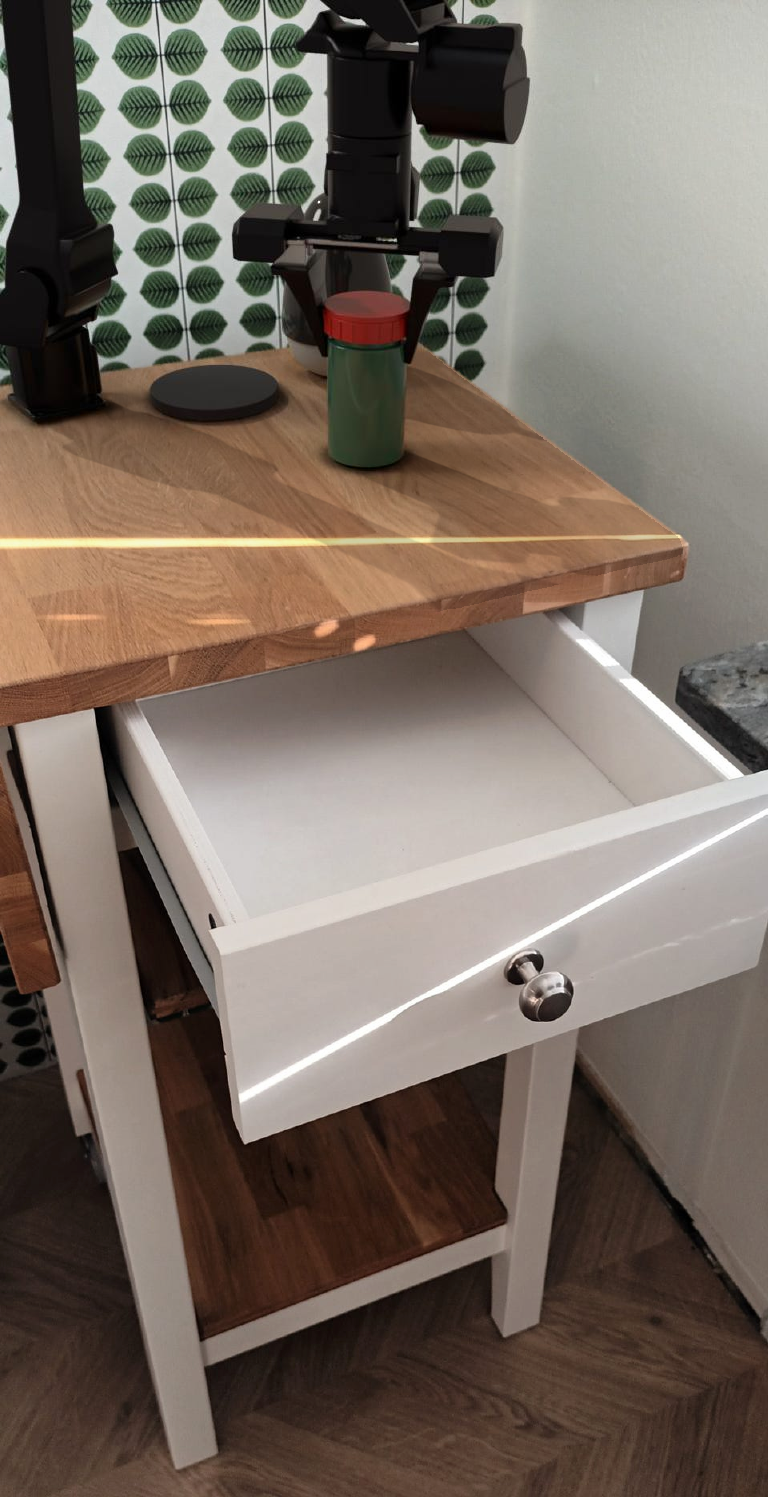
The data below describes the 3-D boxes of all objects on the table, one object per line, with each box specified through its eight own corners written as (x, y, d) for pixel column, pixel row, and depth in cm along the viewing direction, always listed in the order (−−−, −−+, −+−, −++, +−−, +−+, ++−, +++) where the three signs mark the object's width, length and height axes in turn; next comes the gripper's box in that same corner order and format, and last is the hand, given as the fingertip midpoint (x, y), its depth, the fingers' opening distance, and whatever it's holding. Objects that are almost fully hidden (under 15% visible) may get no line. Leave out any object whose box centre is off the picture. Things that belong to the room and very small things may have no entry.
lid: (418, 319, 94) (419, 294, 93) (403, 348, 89) (404, 321, 88) (333, 313, 95) (333, 287, 94) (314, 340, 90) (314, 314, 89)
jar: (355, 473, 95) (356, 334, 88) (313, 446, 99) (311, 311, 92) (418, 456, 97) (424, 320, 91) (375, 431, 101) (377, 298, 95)
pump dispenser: (350, 396, 108) (347, 211, 99) (260, 371, 113) (250, 192, 104) (418, 365, 115) (422, 188, 106) (331, 342, 120) (327, 171, 111)
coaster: (188, 431, 102) (187, 419, 101) (129, 391, 109) (128, 380, 109) (302, 403, 107) (302, 392, 106) (239, 367, 114) (238, 356, 114)
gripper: (518, 116, 89) (502, 334, 99) (266, 103, 92) (273, 317, 101) (502, 147, 81) (486, 383, 90) (223, 132, 83) (236, 363, 92)
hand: (367, 359), depth 94 cm, fingers closed on jar, lid, 6 cm apart
